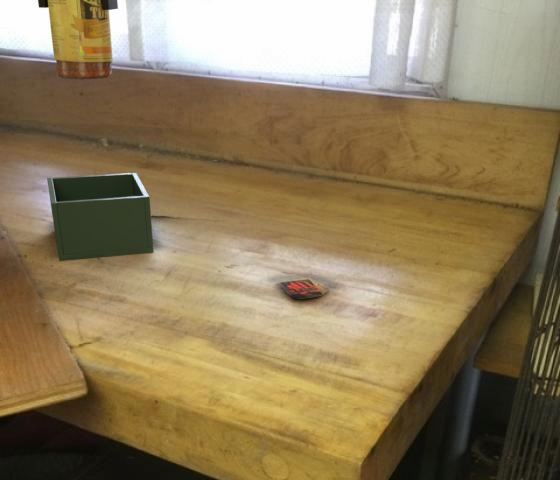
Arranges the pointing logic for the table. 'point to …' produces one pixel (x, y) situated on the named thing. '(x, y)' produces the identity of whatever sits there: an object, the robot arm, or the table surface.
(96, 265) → the table surface
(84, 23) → the sauce bottle
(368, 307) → the table surface
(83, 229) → the bin
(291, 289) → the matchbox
